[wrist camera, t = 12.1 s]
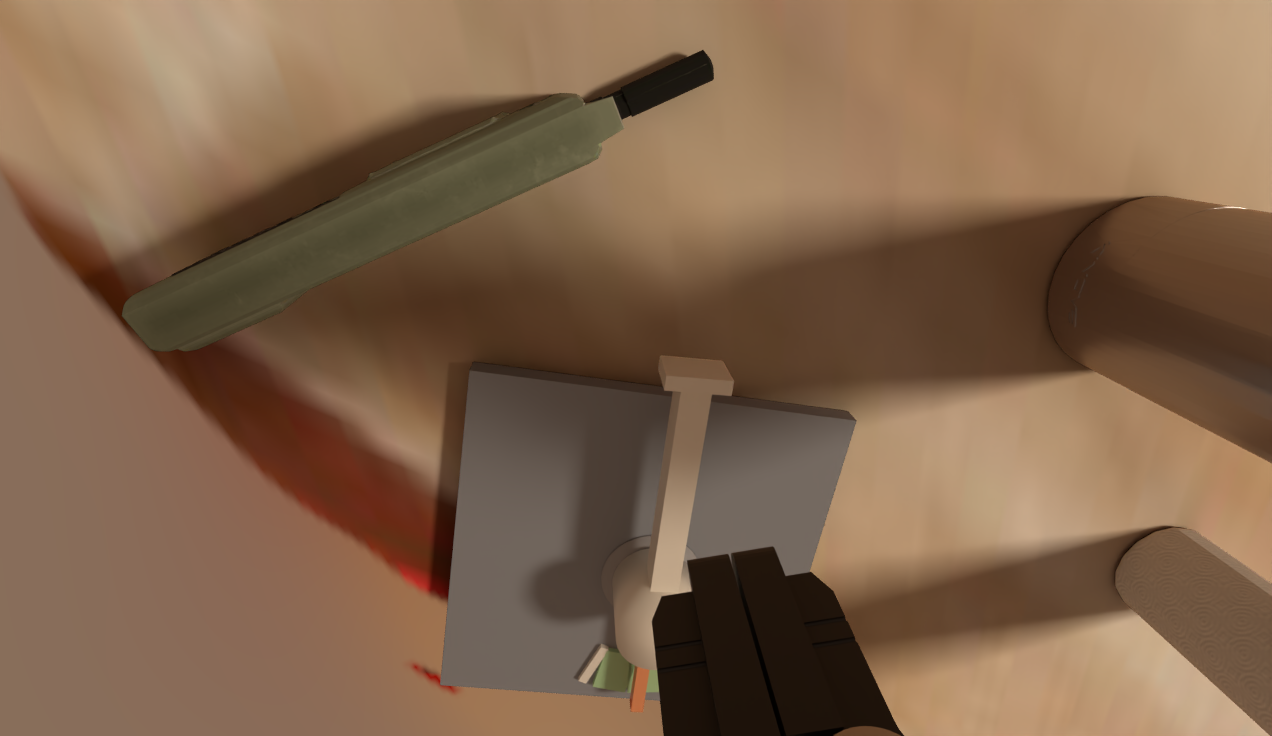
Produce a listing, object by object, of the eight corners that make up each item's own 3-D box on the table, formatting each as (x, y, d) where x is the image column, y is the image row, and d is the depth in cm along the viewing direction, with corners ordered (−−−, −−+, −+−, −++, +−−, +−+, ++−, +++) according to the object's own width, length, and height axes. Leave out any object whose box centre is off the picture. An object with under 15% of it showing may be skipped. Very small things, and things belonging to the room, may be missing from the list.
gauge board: (848, 411, 37) (858, 423, 35) (762, 692, 44) (767, 712, 42) (473, 361, 34) (468, 372, 33) (444, 669, 41) (439, 689, 40)
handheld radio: (194, 253, 32) (691, 23, 30) (238, 314, 33) (717, 98, 31) (105, 296, 26) (722, 10, 24) (162, 369, 27) (752, 104, 25)
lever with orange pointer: (671, 692, 41) (680, 754, 37) (598, 690, 41) (599, 752, 37) (731, 352, 33) (751, 385, 30) (642, 344, 33) (650, 376, 29)
